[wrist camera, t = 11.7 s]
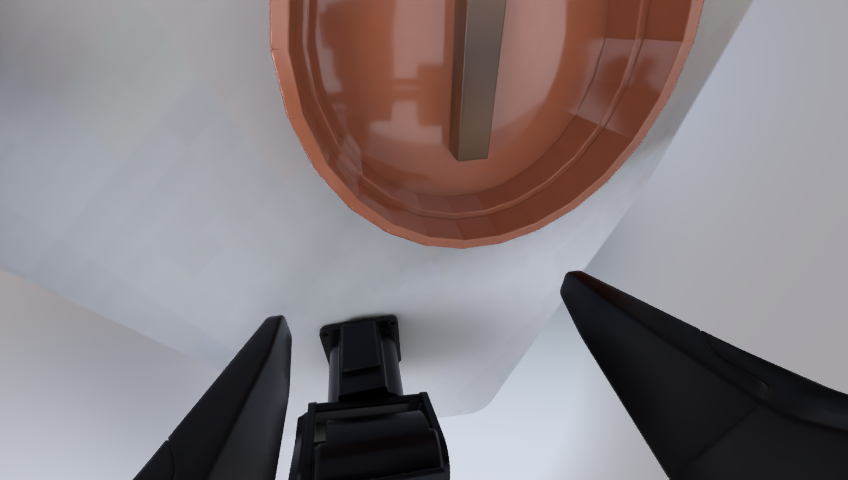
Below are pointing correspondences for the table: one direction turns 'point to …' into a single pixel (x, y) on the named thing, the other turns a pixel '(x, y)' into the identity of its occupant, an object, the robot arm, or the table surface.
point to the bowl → (512, 115)
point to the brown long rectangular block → (474, 75)
